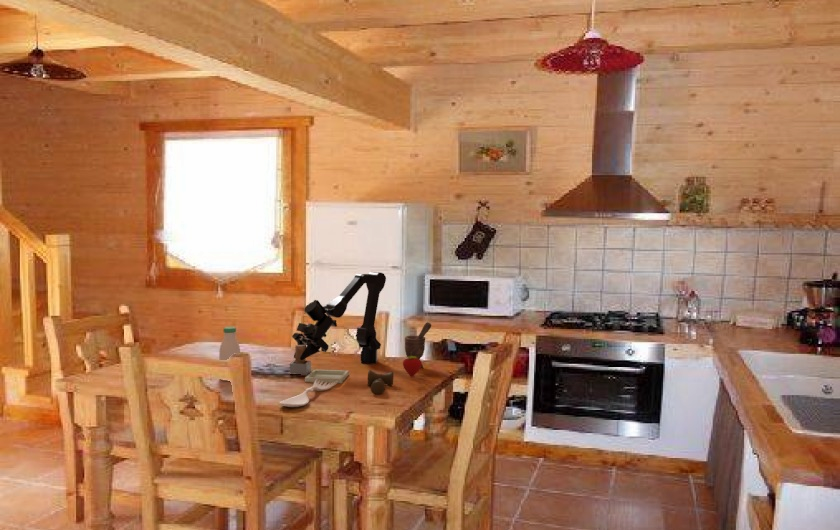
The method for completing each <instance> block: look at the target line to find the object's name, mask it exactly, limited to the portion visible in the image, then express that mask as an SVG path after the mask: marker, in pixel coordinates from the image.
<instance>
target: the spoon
mask: <svg viewBox="0 0 840 530" xmlns="http://www.w3.org/2000/svg"><path fill="white" fill-rule="evenodd" d="M317 381H318V379H316V380H315V382H314V383H313V384H312V386H311V387H308V388H305V389H304V391H303V392H301V393H300V394H298V395H295V396H292V397H289V398H285V399H284V400H280V401H279V404H280V405H281V406H283V407H288V408H299V407H303V406H306V405H308V403H309V402H310V398H309V397H308V393H310V392H313V391H317V392H324V391H327V390H329V389H331V388H332V387H335V385H337V384H339V383H338V381H336V382H332V383H331V382H330V383H327V382H325V383H323V381H322V382H321V383H320V380H319V381H318V382H317Z"/></svg>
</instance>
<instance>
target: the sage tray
mask: <svg viewBox="0 0 840 530" xmlns="http://www.w3.org/2000/svg"><path fill="white" fill-rule="evenodd" d="M349 372H350V370H340V369H339V370H338V369H337V370H336V369H312V370H311V372H310V373H309V374H308V375H305V377H304V383H313V384H314V382H315V380H316V379H318V381H319V380H320V383H321V382H322V381H323V384H324V383H325V382H327V384H329V383H330V382H331V383H332V382H336V381H338V383H337V384H340V385H341V384H343V383H344V382H345V380H346V378H348V376H349V375H350V373H349ZM318 381H317V382H318ZM320 383H319V384H320Z"/></svg>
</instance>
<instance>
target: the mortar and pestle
mask: <svg viewBox="0 0 840 530" xmlns="http://www.w3.org/2000/svg"><path fill="white" fill-rule="evenodd" d="M431 328H432V323H430V322H428V321H427V322H425V324H424V325H423V326H422V328H421V331H420V332H419V334H418V335H412V334H411V335H406V336H405V337H404V351H405V354H406V355H405V356H406V358H408V356H410V357H411V356H416V357H417V358H418V359H419V360H420V361H421V358H422V357H423V356H424V352H425V348H426V347H425V346H426V337H425V335H426V334H427V333H428V332H429V330H430V329H431ZM411 352H412V353H411ZM421 368H422V369H423V368H424V367H423V364H422V365H421Z"/></svg>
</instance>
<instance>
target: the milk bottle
mask: <svg viewBox="0 0 840 530" xmlns="http://www.w3.org/2000/svg"><path fill="white" fill-rule="evenodd" d="M236 334H237V328H236V327H234V326H227V327H223V338H222V341H221V344H220V347H219V356H218V359H219V360H227V359H229V357H230V356H231V355H232V354H234V353H240V354H241V347H240V344H239V341H238V339H237V335H236ZM221 381H222V382H228V381H227V380H221Z"/></svg>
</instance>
